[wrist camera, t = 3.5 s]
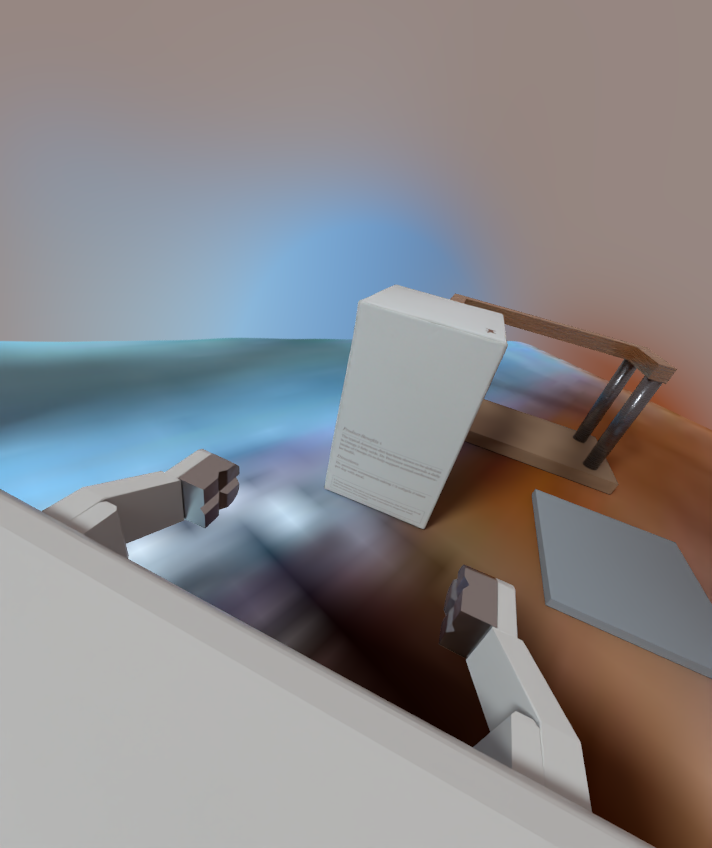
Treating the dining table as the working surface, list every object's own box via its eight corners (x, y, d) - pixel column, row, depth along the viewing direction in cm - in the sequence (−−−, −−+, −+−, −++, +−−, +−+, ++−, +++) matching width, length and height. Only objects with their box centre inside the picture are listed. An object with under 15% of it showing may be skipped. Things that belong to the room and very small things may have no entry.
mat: (545, 604, 19) (551, 598, 19) (531, 494, 27) (535, 489, 27) (752, 697, 17) (763, 692, 17) (669, 547, 25) (675, 542, 25)
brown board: (393, 414, 33) (396, 404, 33) (411, 384, 41) (414, 375, 40) (610, 494, 29) (618, 484, 29) (588, 446, 37) (595, 437, 36)
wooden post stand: (412, 405, 33) (447, 302, 28) (424, 383, 38) (455, 293, 33) (598, 472, 30) (677, 369, 25) (584, 438, 35) (646, 347, 30)
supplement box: (440, 469, 28) (509, 313, 21) (423, 534, 21) (513, 342, 15) (356, 436, 29) (396, 281, 22) (318, 488, 23) (357, 295, 16)
